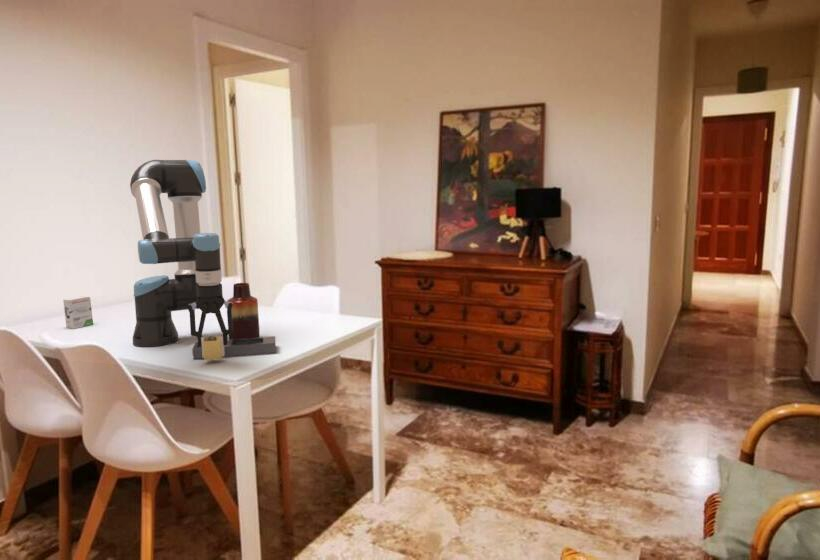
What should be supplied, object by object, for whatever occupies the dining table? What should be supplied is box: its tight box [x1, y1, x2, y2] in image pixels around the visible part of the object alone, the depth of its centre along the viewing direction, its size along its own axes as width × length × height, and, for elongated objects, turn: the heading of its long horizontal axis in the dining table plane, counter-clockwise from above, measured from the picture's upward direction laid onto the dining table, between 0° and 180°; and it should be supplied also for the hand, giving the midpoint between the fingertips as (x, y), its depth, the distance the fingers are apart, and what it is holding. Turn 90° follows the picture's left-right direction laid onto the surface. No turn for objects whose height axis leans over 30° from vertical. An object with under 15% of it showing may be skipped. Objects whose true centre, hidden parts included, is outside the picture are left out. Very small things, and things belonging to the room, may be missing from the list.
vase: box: [226, 282, 260, 340], centre depth 208 cm, size 11×11×20 cm
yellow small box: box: [203, 335, 223, 361], centre depth 181 cm, size 5×5×7 cm
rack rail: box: [192, 335, 277, 360], centre depth 192 cm, size 26×9×4 cm, turn 104°
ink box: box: [63, 296, 94, 330], centre depth 232 cm, size 9×5×12 cm, turn 148°
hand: (213, 355), depth 182 cm, fingers closed on yellow small box, 5 cm apart
